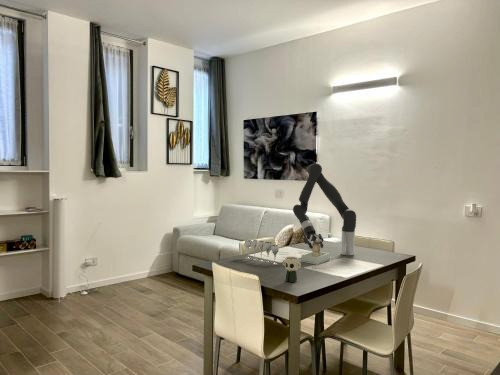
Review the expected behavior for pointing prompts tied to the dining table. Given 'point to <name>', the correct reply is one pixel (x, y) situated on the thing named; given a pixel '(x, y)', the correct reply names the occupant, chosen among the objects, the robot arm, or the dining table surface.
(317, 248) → the pepper mill
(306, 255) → the bin
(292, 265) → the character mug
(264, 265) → the dining table surface
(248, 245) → the goblet set
